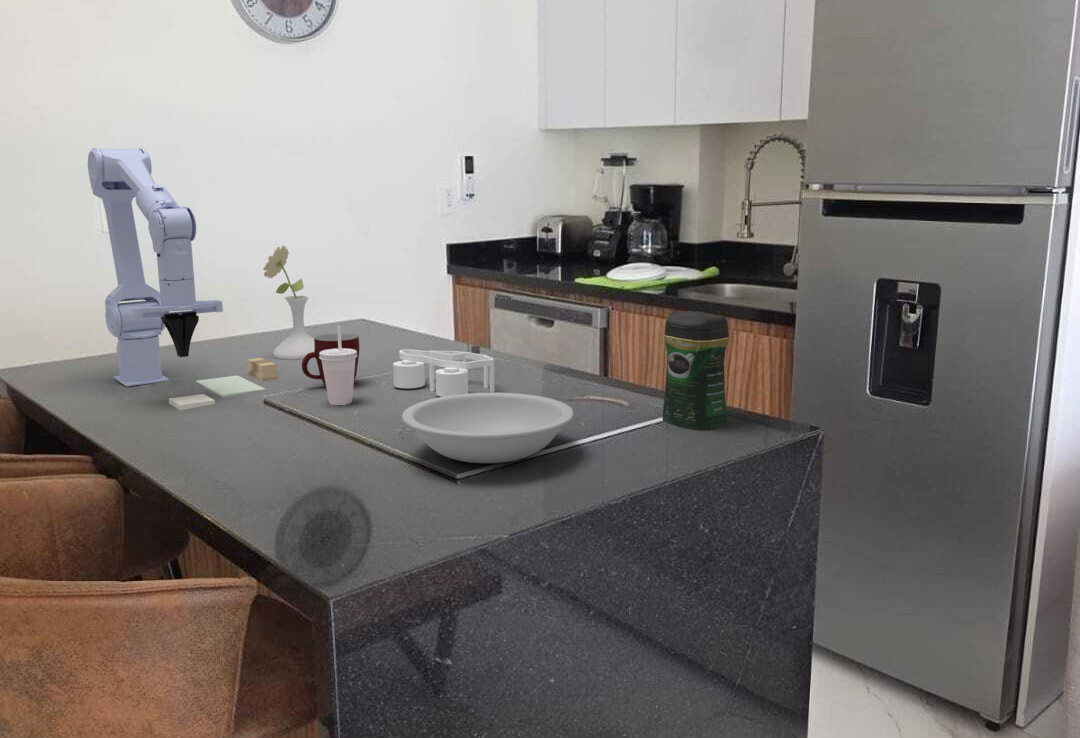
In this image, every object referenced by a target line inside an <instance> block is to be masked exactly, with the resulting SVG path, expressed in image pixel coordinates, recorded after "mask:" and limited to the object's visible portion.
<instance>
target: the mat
mask: <svg viewBox="0 0 1080 738" xmlns="http://www.w3.org/2000/svg"><path fill="white" fill-rule="evenodd" d="M196 382H197V383H196ZM195 383H196V384H198V383H199V384H198V385H200V386H201V385H202V386H201V387H203V386H204V388H205V389H207V390H208V391H210V392H212V393H213V394H216V396H219V397H220V398H229V397H233V396H238V395H240V396H241V395H244V394H249V393H250V394H251V393H255V392H262V391H266V388H265V387H262V386H260V385H258V384H256V383H254V382H252V381H250V380H247V379H246V378H244V377H242V376H239V375H238V374H237V375H229V376H223V377H222V376H221V377H215V378H208V379H200V380H199V379H197V380H196V381H195Z"/></svg>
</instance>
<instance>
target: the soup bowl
mask: <svg viewBox="0 0 1080 738" xmlns="http://www.w3.org/2000/svg"><path fill="white" fill-rule="evenodd" d="M574 413H575V412H574V410H573V408H572V407H571V406H569V405H568V404H567V403H564V402H562V401H559V400H557V399H554V398H550V397H547V396H546V397H545V396H540V395H535V394H534V395H533V394H528V393H527V394H526V393H517V392H515V393H514V392H472V393H471V392H470V393H469V392H468V394H458V395H451V396H444V397H441V396H438V397H436V398H435V397H434V398H430V399H427V400H424V401H420V402H417V403H415V404H412V405H411V406H409V407H408V408H406V409H405V410H404V411H403V413H402V415H401V418H402V421H403V423H404V424H405V425H407V426H408V427H409V428H411V429H413V430H415V431H416V433H417V434H418V436H419V437H420V439H421V440H422V441H423V442H424V443H425V444H426V445H427V446H429V448H430V449H432V450H433V451H435V452H436V453H438V454H440V455H441V456H444V457H445V458H448V459H452V460H454V461H455V460H456V461H460V462H465V463H471V464H500V463H509V462H513V461H517V460H518V461H519V460H521V459H525V458H527V457H530V456H532V455H534V454H537V453H538V452H539V451H541V450H544V448H545V447H547V446H548V445H549V444H550V443H551V442H552V441H553V439H554V438H555V437H556V436H557V434H558V433H559V431H560V430H561V428H562V427H563V426H565V425H567V424H569V423H570V422H571V421H572V420H573V418H574V415H575V414H574Z"/></svg>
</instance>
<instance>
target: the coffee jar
mask: <svg viewBox="0 0 1080 738" xmlns="http://www.w3.org/2000/svg"><path fill="white" fill-rule="evenodd" d="M665 320H666V321H665V327H664V332H663V333H664V335H663V337H664V343H665V348H666V372H665V385H664V386H665V389H664V397H663V407H662V408H663V409H662V421H663V422H664V423H666V424H669V425H671V426H675V427H678V428H682V429H686V430H690V431H699V432H700V431H710V430H714V429H718V428H722V427H723V426H725V425H727V405H726V404H727V403H726V388H725V385H726V384H725V358H726V350H727V347H728V343H729V341H730V337H729V336H730V334H729V321H728V319H727V318H726V317H725V316H724V315H721V314H713V313H708V312H703V311H695V310H694V311H693V310H685V311H683V310H682V311H677V312H676V311H674V312H670V313H669V314H668V316H667V317H666V319H665Z"/></svg>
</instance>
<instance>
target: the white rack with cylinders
mask: <svg viewBox="0 0 1080 738" xmlns="http://www.w3.org/2000/svg"><path fill="white" fill-rule="evenodd" d="M398 357H399V359H400V360H399V361H395V362H393V363H392V368H393V369H392V370H393V372H392V373H393V387H395V388H398V389H417V388H422V387H424V386H425V385H426V381H425V380H426V378H425V375H426V374H425V364H428V368H429V369H428V371H429V372H428V373H429V374H428V376H429V391H430V392H435V394H436V396H438V397H444V396H451V395H458V394H469V371H468V370H470V369H471V370H472V369H476V368H483V389H488V388H489V393H496V392H495V391H496V390H495V361H494V358H493V357H490V356H489V355H486V354H480V353H474V352H468V351H457V350H419V349H418V350H416V349H410V348H409V349H400V350H399V352H398ZM459 360H461V361H459ZM467 360H472V361H467ZM435 366H437V367H441V368H439V369H436V370H435V368H434V367H435Z"/></svg>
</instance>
